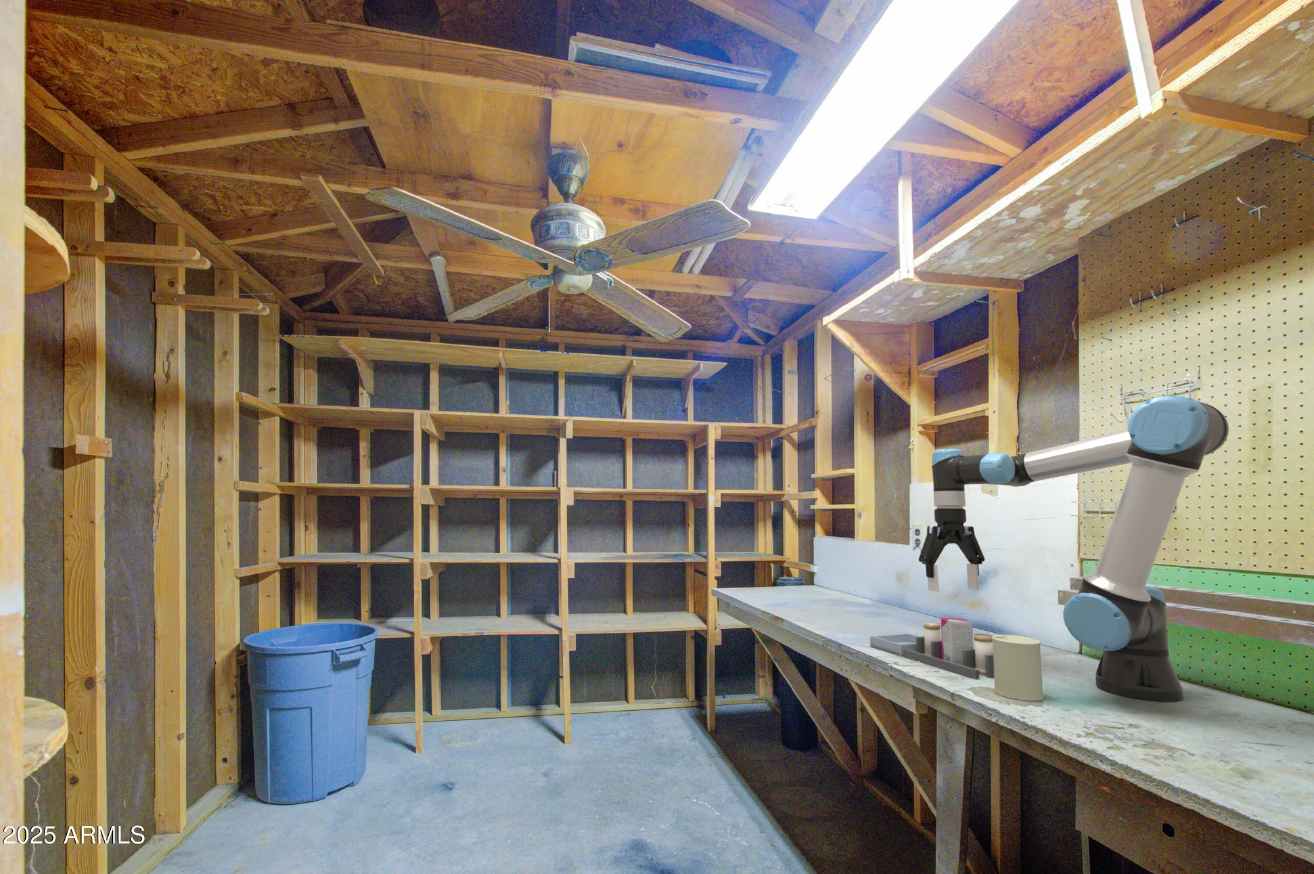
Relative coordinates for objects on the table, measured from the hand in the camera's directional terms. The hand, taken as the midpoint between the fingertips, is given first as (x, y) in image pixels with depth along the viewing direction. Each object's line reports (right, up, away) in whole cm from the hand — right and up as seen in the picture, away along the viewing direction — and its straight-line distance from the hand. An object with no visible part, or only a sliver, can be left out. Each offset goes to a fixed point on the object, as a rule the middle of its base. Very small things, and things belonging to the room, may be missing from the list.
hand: (953, 590), depth 157 cm
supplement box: (0, -19, -3) cm, 19 cm away
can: (+1, -16, -27) cm, 31 cm away
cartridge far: (-3, -19, +4) cm, 20 cm away
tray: (-7, -20, +14) cm, 25 cm away
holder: (0, -18, -3) cm, 19 cm away
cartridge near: (+3, -18, -10) cm, 21 cm away
